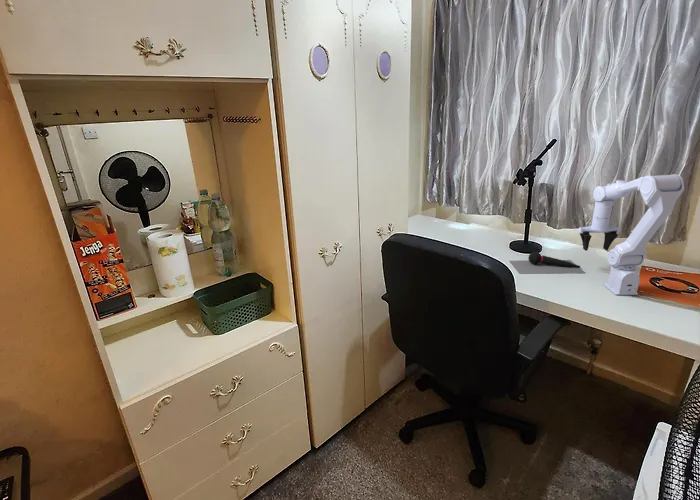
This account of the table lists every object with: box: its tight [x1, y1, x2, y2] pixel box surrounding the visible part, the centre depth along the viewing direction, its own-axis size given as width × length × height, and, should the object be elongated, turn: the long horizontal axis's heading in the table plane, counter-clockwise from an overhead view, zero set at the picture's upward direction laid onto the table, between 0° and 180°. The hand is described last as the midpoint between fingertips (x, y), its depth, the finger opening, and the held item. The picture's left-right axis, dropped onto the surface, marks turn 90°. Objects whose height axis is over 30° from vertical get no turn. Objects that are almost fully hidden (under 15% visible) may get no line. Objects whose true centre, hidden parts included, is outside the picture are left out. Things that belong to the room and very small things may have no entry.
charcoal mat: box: [509, 259, 586, 275], centre depth 163 cm, size 14×26×1 cm, turn 85°
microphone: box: [528, 251, 581, 268], centre depth 163 cm, size 6×6×20 cm
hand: (595, 249), depth 153 cm, fingers open, 7 cm apart
